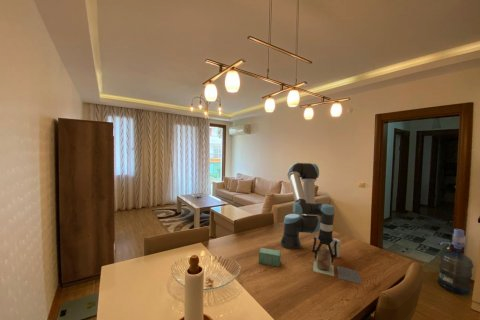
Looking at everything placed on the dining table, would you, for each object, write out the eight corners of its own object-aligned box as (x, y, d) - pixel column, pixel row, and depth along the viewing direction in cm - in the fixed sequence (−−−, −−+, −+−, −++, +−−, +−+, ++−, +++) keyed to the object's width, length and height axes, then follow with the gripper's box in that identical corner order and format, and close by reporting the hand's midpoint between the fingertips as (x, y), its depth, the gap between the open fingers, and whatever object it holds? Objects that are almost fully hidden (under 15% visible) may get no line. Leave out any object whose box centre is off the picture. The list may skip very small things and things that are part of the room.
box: (279, 267, 132) (280, 255, 132) (258, 263, 135) (258, 252, 135) (280, 261, 139) (280, 250, 139) (259, 258, 142) (260, 247, 142)
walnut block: (317, 267, 131) (318, 252, 131) (317, 262, 138) (318, 247, 137) (329, 270, 129) (330, 254, 128) (329, 264, 135) (330, 249, 135)
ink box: (330, 258, 146) (331, 241, 145) (325, 255, 150) (326, 238, 150) (340, 257, 148) (341, 240, 148) (335, 253, 153) (336, 237, 152)
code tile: (312, 271, 129) (312, 270, 129) (313, 261, 141) (313, 260, 141) (334, 276, 125) (334, 276, 125) (333, 265, 137) (333, 265, 137)
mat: (338, 278, 123) (338, 278, 123) (336, 266, 136) (336, 266, 136) (361, 284, 118) (361, 283, 118) (358, 271, 131) (358, 271, 131)
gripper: (308, 228, 132) (306, 264, 134) (344, 235, 125) (341, 272, 126) (309, 224, 139) (307, 258, 140) (343, 230, 131) (340, 266, 133)
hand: (323, 264), depth 133 cm, fingers closed on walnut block, 7 cm apart
